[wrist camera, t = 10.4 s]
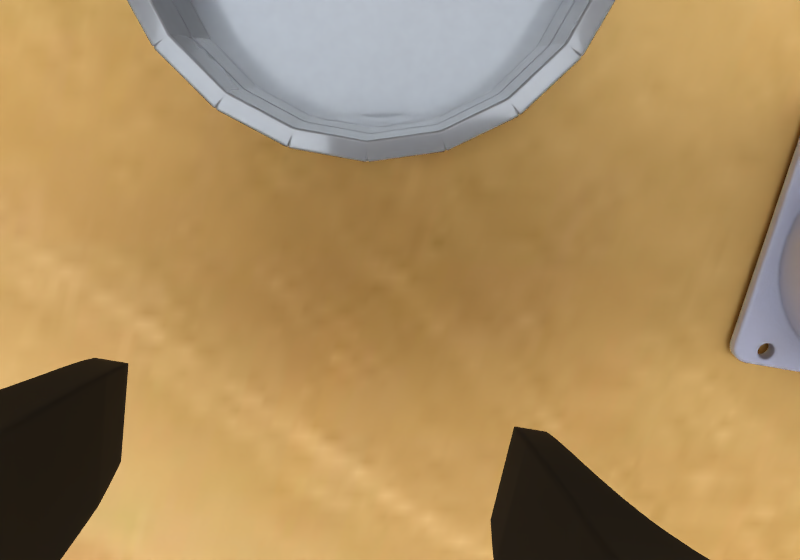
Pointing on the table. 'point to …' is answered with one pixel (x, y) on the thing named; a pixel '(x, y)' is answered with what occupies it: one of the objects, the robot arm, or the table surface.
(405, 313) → the table surface
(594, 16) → the grey cake pan
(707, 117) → the table surface
